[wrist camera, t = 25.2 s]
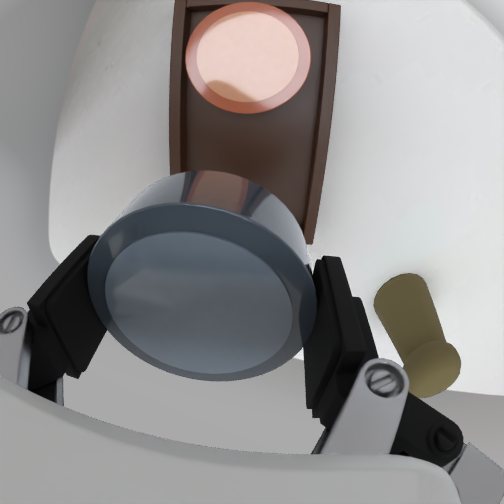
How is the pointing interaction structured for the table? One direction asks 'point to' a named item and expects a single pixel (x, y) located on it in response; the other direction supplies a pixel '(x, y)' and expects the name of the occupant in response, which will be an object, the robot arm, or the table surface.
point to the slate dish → (205, 278)
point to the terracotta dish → (248, 57)
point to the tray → (260, 115)
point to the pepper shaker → (417, 335)
